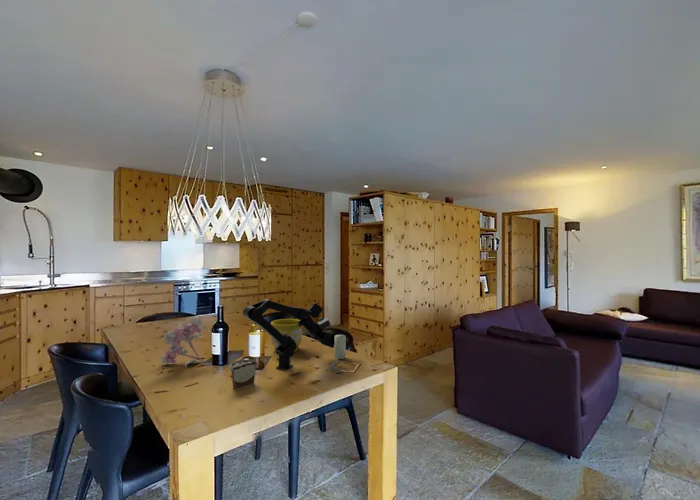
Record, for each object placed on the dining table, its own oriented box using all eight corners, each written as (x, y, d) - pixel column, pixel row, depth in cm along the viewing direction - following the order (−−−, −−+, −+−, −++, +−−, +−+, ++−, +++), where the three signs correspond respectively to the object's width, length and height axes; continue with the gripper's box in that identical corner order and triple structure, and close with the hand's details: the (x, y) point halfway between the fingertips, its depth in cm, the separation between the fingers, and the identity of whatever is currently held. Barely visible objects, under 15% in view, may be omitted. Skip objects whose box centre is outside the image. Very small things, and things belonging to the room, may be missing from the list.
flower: (194, 350, 198) (173, 313, 190) (221, 352, 186) (200, 312, 178) (164, 376, 182) (140, 336, 174) (191, 380, 170) (167, 338, 162)
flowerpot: (264, 352, 202) (264, 323, 202) (283, 344, 218) (283, 317, 218) (290, 356, 194) (290, 326, 194) (308, 348, 210) (308, 320, 210)
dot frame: (354, 373, 168) (354, 372, 168) (326, 370, 172) (326, 369, 172) (361, 364, 182) (361, 363, 182) (334, 361, 185) (334, 360, 185)
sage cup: (346, 359, 188) (346, 336, 188) (335, 360, 187) (335, 337, 187) (344, 356, 194) (344, 333, 194) (333, 357, 193) (333, 334, 193)
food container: (248, 379, 159) (248, 357, 159) (257, 382, 155) (257, 359, 155) (223, 387, 150) (223, 363, 150) (231, 391, 146) (232, 367, 146)
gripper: (327, 317, 178) (347, 337, 182) (315, 311, 195) (333, 329, 199) (312, 334, 174) (332, 354, 179) (301, 326, 191) (320, 345, 196)
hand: (330, 344), depth 188 cm, fingers open, 9 cm apart
